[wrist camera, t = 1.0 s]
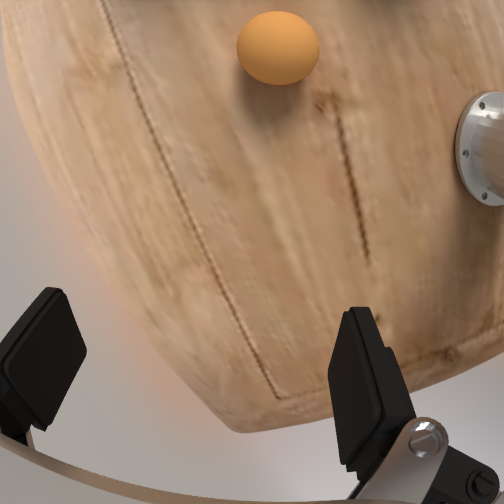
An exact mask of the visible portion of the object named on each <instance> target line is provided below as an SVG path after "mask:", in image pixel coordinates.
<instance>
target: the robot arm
mask: <svg viewBox="0 0 504 504" xmlns="http://www.w3.org/2000/svg"><path fill="white" fill-rule="evenodd" d="M455 156H456V163H457V168H458V172H459V175H460V178H461V180H462V182H463V184H464V186H465V188H466V189H467V190H468V192H469V193H470V194H471V195H472V196H473V197H474V198H475V199H477V200H478V201H480V202H481V203H483V204H486V205H489V206H501V205H504V93H502V92H496V91H488V92H484V93H481V94H479V95H478V96H476V97H475V98H474V99H473V100H472V101H471V102H470V103H469V104H468V105H467V107H466V108H465V110H464V111H463V114H462V116H461V118H460V121H459V124H458V128H457V132H456V141H455ZM86 353H87V349H86V346H85V343H84V341H83V338H82V336H81V333H80V331H79V328H78V326H77V323H76V321H75V318H74V315H73V313H72V310H71V307H70V304H69V301H68V299H67V296H66V294H65V293H63V291H62V289H59V288H53V287H46V288H45V289H44V290H43V291H42V292H41V293H40V294H39V296H38V297H37V298H36V299H35V300H34V301H33V303H32V304H31V305H30V306H29V307H28V309H27V310H26V311H25V312H24V313H23V315H22V316H21V317H20V318H19V320H18V321H17V322H16V323H15V325H14V326H13V327H12V328H11V330H10V331H9V332H8V333H7V335H6V336H5V337H4V339H3V340H2V341H1V343H0V504H504V491H503V492H501V491H500V490H499V488H500V485H499V478H498V475H497V474H496V473H495V471H494V470H493V469H491V468H490V467H488V466H486V465H485V464H483V463H481V462H479V461H477V460H475V459H473V458H471V457H469V456H467V455H465V454H464V453H462V452H460V451H458V450H456V449H454V448H453V447H451V446H449V445H448V443H449V440H448V434H447V432H446V430H445V428H444V427H443V426H442V425H441V423H439V422H438V421H436V420H434V419H431V418H428V417H419V418H417V417H416V414H415V411H414V408H413V405H412V402H411V399H410V396H409V393H408V390H407V387H406V384H405V382H404V379H403V376H402V373H401V371H400V368H399V365H398V363H397V360H396V357H395V355H394V352H393V350H392V349H391V348H390V347H385V346H384V344H383V341H382V338H381V336H380V333H379V330H378V328H377V325H376V323H375V320H374V318H373V315H372V313H371V310H370V308H369V307H350V309H349V311H345V312H344V313H343V316H342V320H341V324H340V328H339V332H338V336H337V339H336V343H335V347H334V350H333V354H332V357H331V361H330V364H329V368H328V381H329V388H330V394H331V400H332V407H333V413H334V420H335V427H336V434H337V442H338V449H339V457H340V462H341V464H342V465H346V469H347V472H354V471H356V472H357V479H358V480H359V481H360V482H359V483H358V485H357V486H356V487H355V488H354V490H353V491H352V492H351V494H350V495H349V496H348V498H347V499H346V500H332V501H310V502H257V501H237V500H236V501H235V500H224V499H214V498H205V497H198V496H191V495H184V494H178V493H172V492H167V491H162V490H157V489H151V488H147V487H143V486H138V485H134V484H130V483H126V482H123V481H119V480H115V479H112V478H108V477H105V476H102V475H99V474H96V473H92V472H89V471H87V470H83V469H81V468H78V467H75V466H72V465H70V464H67V463H64V462H62V461H59V460H57V459H54V458H52V457H50V456H47V455H45V454H43V453H40V452H38V451H36V450H35V448H34V444H33V439H32V435H31V431H30V426H31V424H32V425H33V426H34V427H35V428H37V429H40V430H42V431H46V429H47V427H48V425H50V424H52V422H53V420H54V418H55V416H56V414H57V412H58V409H59V407H60V405H61V403H62V401H63V399H64V397H65V395H66V393H67V391H68V389H69V387H70V385H71V383H72V381H73V380H74V378H75V376H76V374H77V372H78V370H79V368H80V366H81V364H82V363H83V361H84V359H85V357H86Z"/></svg>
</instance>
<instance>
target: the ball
mask: <svg viewBox="0 0 504 504" xmlns="http://www.w3.org/2000/svg"><path fill="white" fill-rule="evenodd" d="M237 54H238V58H239V61H240V63H241V65H242V66H243V68H244V69H245V70H246V71H247V72H248V73H249V74H250V75H251V76H252V77H254V78H255V79H257V80H259V81H261V82H264V83H267V84H271V85H288V84H292V83H295V82H298V81H299V80H301V79H303V78H304V77H306V76H307V75H308V74H309V73H310V72H311V71H312V70H313V68H314V67H315V65H316V63H317V60H318V57H319V42H318V38H317V36H316V34H315V32H314V30H313V29H312V27H311V26H310V25H309V24H308V23H307V22H306V21H305V20H303V19H302V18H300V17H298V16H296V15H294V14H291V13H288V12H282V11H272V12H266V13H263V14H260V15H258V16H256V17H254V18H253V19H251V20H250V21H249V22H248V23H247V24H246V25H245V26H244V27H243V28H242V30H241V32H240V34H239V36H238V40H237Z"/></svg>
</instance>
